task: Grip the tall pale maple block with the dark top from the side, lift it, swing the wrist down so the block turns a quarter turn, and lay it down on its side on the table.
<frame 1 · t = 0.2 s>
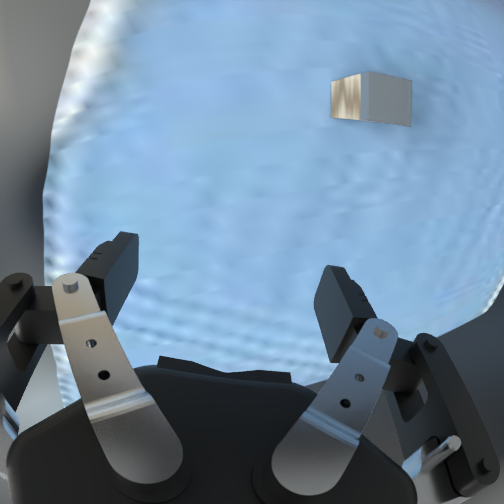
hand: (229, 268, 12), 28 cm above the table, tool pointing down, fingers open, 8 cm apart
maple block: (348, 101, 35), on the table
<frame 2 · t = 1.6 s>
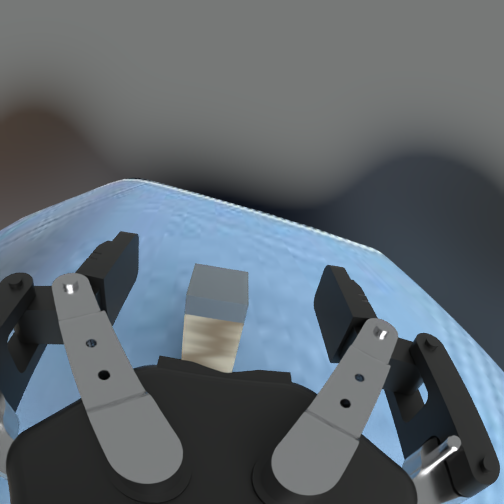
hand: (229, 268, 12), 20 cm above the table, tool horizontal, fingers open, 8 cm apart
maple block: (205, 370, 31), on the table
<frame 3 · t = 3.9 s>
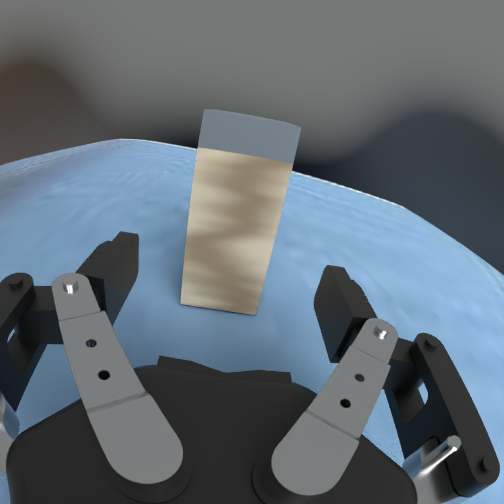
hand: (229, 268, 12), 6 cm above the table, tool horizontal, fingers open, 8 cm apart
maple block: (220, 288, 22), on the table
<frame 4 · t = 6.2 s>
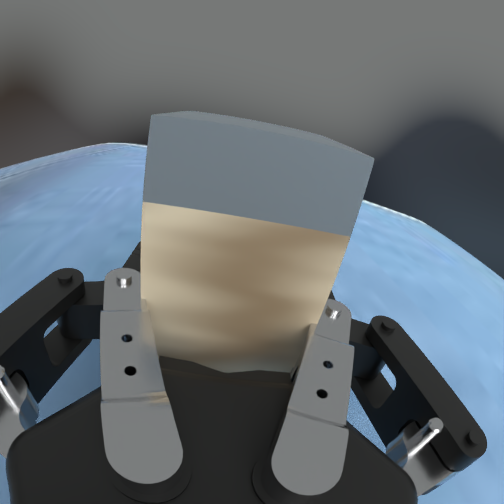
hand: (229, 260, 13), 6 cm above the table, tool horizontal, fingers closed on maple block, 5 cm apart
maple block: (210, 391, 14), on the table, touching gripper
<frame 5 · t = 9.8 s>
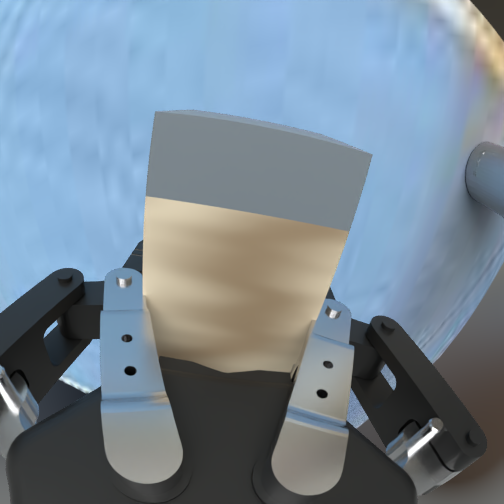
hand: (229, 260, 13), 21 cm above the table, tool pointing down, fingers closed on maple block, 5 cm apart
maple block: (210, 388, 14), point 23 cm above the table, tilted 91°, touching gripper
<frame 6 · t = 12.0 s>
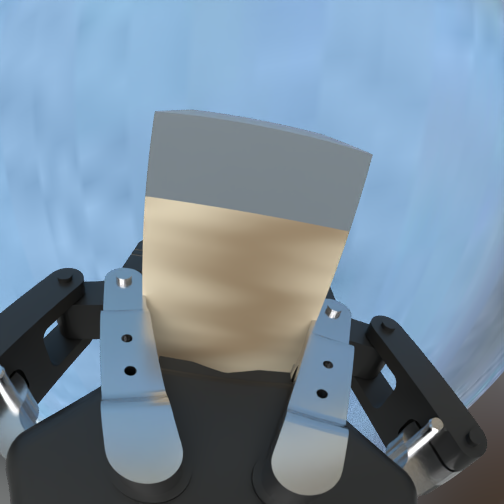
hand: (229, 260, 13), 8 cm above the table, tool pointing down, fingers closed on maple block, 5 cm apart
maple block: (210, 389, 14), point 10 cm above the table, tilted 90°, touching gripper
when the fingers open (2 cm above the table, at t = 13.7 s): maple block drops 2 cm, point 2 cm above the table.
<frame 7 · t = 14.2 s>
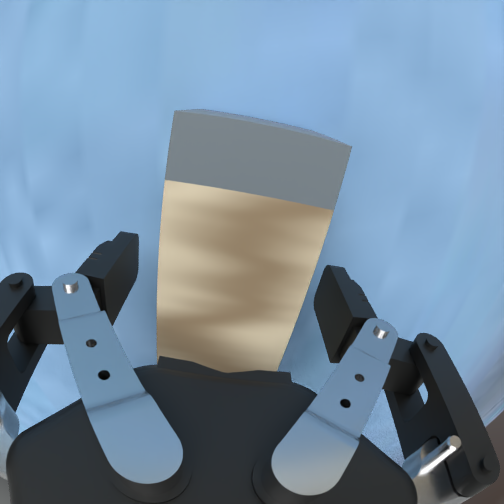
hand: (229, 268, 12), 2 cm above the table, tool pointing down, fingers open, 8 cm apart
maple block: (213, 364, 15), point 2 cm above the table, tilted 90°
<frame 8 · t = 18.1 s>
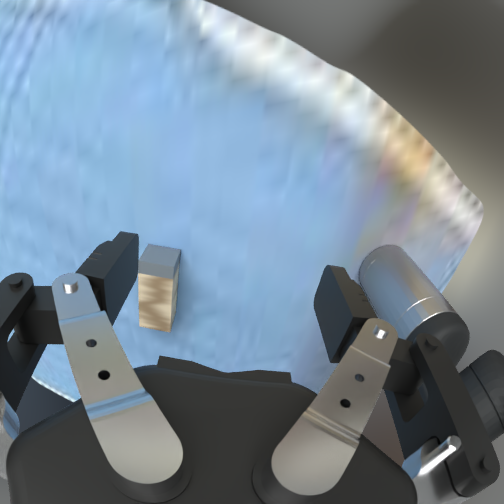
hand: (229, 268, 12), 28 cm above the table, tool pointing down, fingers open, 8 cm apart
maple block: (158, 319, 46), point 2 cm above the table, tilted 90°
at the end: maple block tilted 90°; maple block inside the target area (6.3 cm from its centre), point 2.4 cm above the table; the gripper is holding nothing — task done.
